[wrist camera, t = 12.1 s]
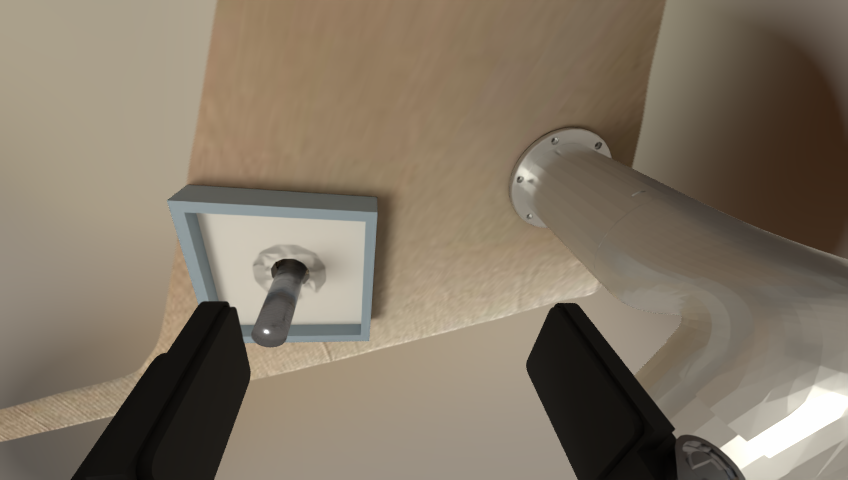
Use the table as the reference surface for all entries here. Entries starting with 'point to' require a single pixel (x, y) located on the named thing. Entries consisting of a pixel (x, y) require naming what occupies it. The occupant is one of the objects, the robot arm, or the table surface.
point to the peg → (279, 304)
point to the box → (281, 254)
